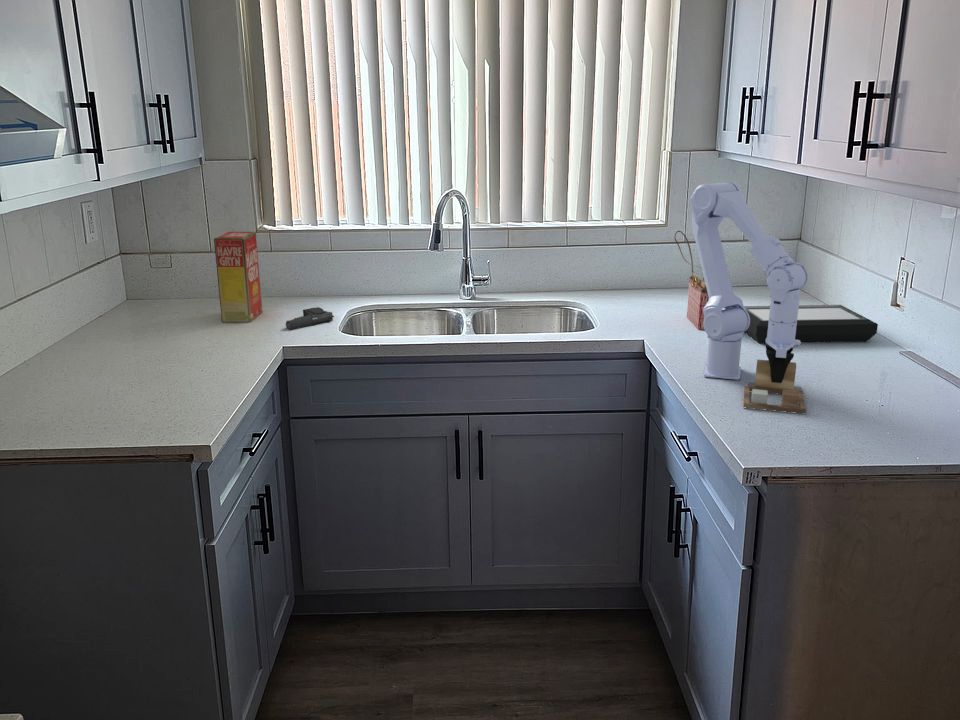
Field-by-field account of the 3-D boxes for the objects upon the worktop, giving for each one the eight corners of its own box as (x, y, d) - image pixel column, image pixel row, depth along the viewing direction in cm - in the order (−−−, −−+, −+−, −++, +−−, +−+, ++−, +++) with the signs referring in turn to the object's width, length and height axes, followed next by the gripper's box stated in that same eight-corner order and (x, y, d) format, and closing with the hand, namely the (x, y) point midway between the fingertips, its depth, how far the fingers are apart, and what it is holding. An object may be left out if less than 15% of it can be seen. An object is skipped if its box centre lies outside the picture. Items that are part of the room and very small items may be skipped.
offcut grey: (751, 402, 171) (752, 389, 170) (765, 403, 170) (767, 390, 169) (751, 407, 168) (752, 393, 167) (766, 408, 167) (767, 395, 167)
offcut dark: (781, 405, 169) (782, 389, 168) (796, 406, 168) (798, 390, 167) (781, 409, 167) (783, 394, 166) (797, 411, 166) (798, 395, 165)
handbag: (692, 312, 245) (698, 230, 237) (709, 331, 225) (717, 241, 217) (668, 312, 245) (674, 230, 237) (683, 331, 225) (690, 241, 217)
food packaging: (251, 322, 237) (243, 237, 230) (220, 322, 237) (210, 238, 230) (264, 311, 250) (256, 231, 242) (234, 311, 250) (225, 231, 243)
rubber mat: (749, 383, 182) (749, 382, 182) (801, 388, 179) (801, 386, 179) (748, 390, 178) (749, 389, 177) (802, 395, 174) (802, 394, 174)
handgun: (269, 315, 236) (291, 321, 228) (317, 305, 247) (339, 311, 238) (270, 325, 237) (292, 331, 229) (318, 315, 248) (340, 321, 239)
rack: (744, 389, 178) (744, 385, 178) (802, 395, 175) (802, 390, 174) (743, 408, 167) (744, 403, 167) (805, 414, 164) (806, 409, 164)
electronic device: (843, 303, 229) (878, 320, 210) (840, 324, 231) (875, 343, 212) (732, 305, 228) (757, 322, 209) (730, 326, 230) (754, 345, 211)
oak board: (754, 385, 180) (757, 359, 178) (792, 388, 178) (795, 362, 176) (754, 388, 178) (757, 362, 176) (793, 392, 175) (796, 365, 174)
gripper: (804, 330, 165) (797, 392, 169) (800, 313, 178) (794, 371, 182) (768, 327, 167) (762, 389, 171) (767, 311, 180) (761, 368, 184)
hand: (776, 380), depth 177 cm, fingers closed on oak board, 2 cm apart
